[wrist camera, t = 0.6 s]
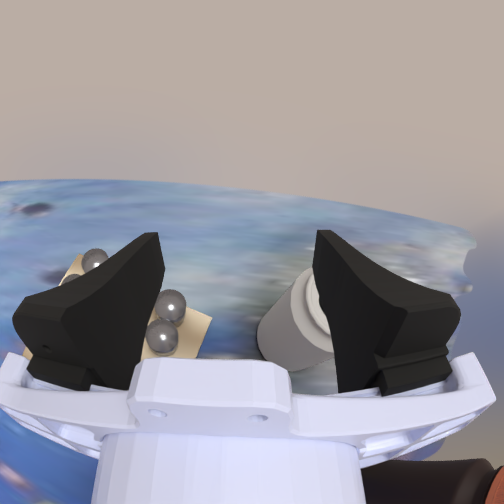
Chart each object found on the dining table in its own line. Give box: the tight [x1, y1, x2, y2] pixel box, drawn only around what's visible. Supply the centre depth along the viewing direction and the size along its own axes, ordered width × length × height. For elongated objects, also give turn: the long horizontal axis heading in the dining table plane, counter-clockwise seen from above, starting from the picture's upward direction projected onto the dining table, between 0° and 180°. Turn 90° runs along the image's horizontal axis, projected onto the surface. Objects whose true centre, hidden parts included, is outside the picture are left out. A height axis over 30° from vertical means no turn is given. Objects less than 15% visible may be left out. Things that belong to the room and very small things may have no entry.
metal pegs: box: [61, 249, 186, 357], centre depth 23 cm, size 13×13×3 cm
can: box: [257, 268, 334, 372], centre depth 24 cm, size 8×8×12 cm
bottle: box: [360, 458, 504, 504], centre depth 13 cm, size 7×7×20 cm
